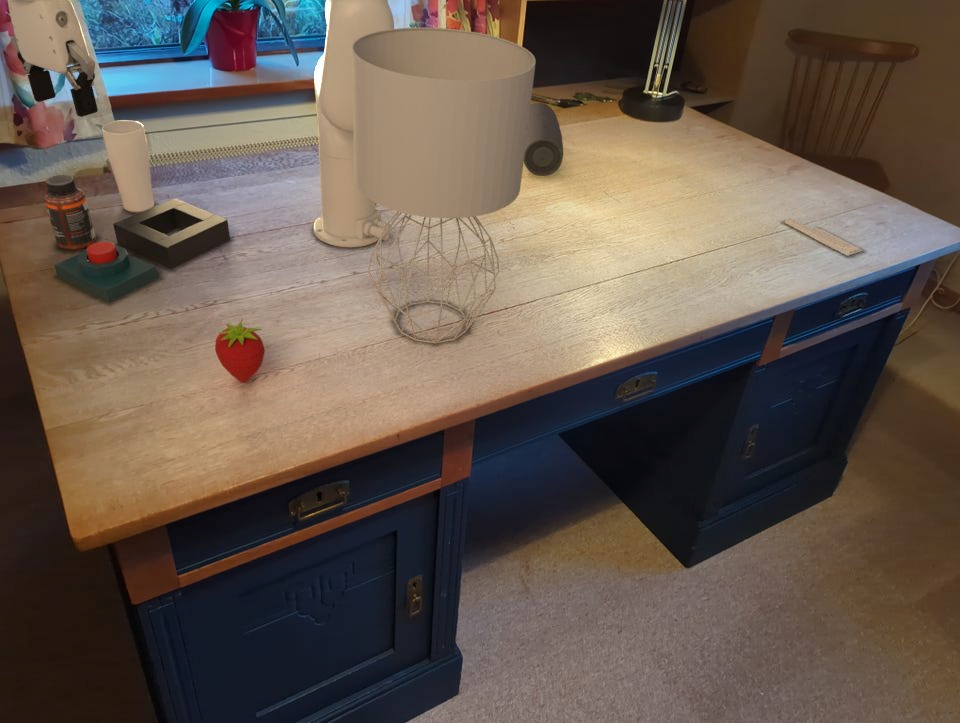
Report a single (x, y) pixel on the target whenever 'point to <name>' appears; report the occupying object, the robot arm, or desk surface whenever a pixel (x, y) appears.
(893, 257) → the desk surface
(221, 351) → the strawberry
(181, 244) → the socket block
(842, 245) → the thin wooden strip
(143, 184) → the drinking glass
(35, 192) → the desk surface
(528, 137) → the bluetooth speaker
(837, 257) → the desk surface
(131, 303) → the desk surface
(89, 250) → the switch button
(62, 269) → the switch box
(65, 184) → the supplement bottle
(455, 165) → the table lamp
